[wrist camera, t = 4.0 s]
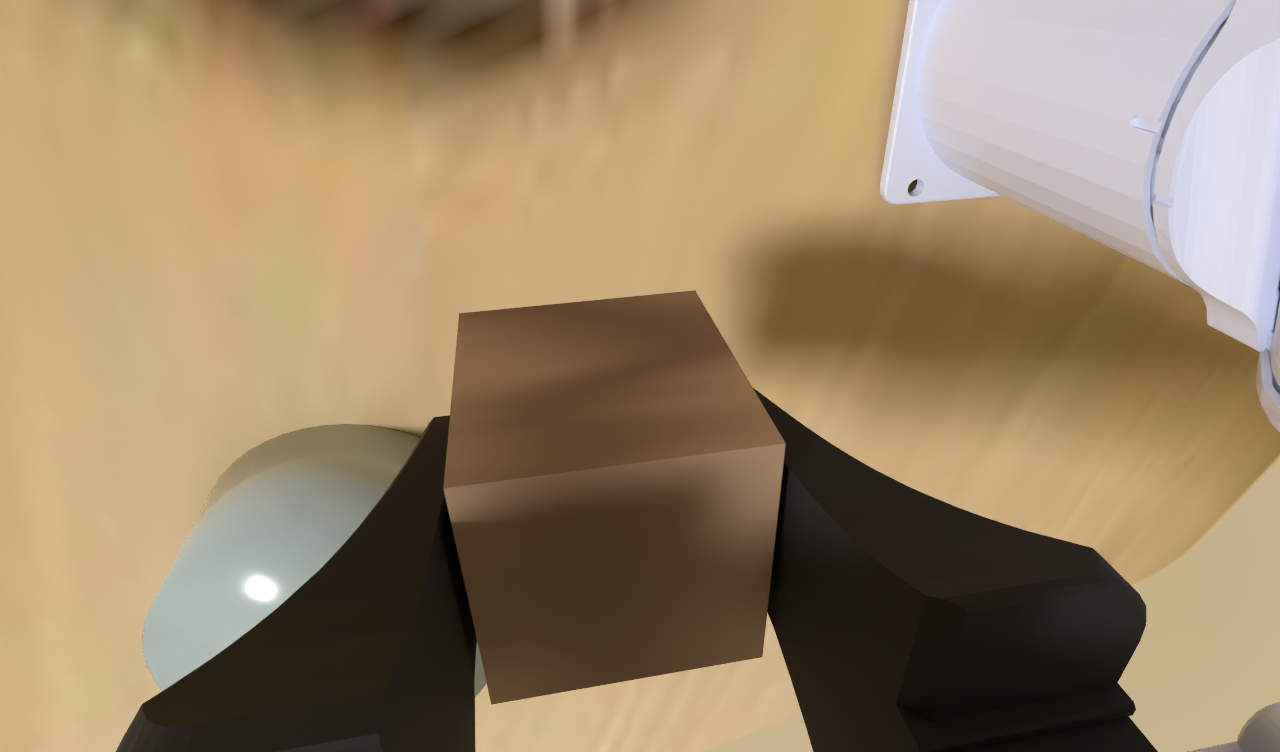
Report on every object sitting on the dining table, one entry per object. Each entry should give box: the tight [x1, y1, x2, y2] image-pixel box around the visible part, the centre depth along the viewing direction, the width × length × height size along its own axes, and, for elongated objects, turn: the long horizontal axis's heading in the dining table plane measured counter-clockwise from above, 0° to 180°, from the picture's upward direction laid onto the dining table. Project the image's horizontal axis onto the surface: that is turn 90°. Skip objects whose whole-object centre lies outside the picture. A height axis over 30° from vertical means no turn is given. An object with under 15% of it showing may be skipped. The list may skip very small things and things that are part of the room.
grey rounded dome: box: [142, 424, 487, 697], centre depth 23 cm, size 10×10×5 cm
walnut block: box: [443, 291, 786, 704], centre depth 12 cm, size 4×4×5 cm
